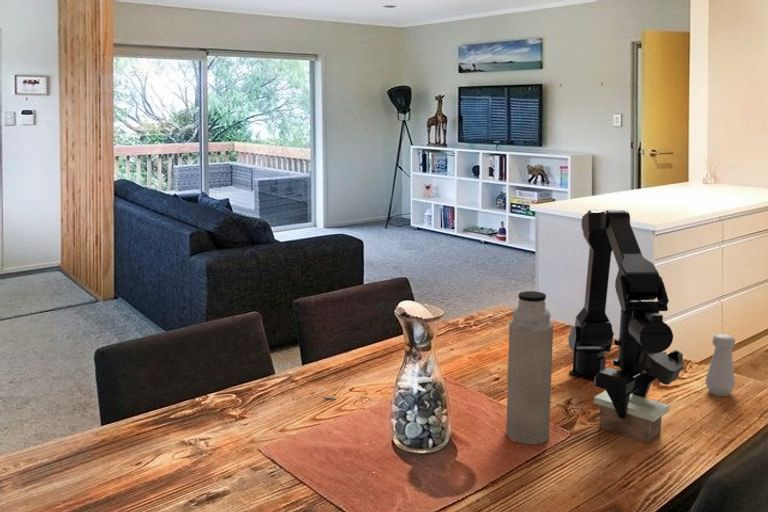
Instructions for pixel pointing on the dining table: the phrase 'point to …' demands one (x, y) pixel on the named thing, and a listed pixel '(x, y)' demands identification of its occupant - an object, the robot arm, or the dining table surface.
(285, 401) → the dining table surface
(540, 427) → the thermos bottle
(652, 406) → the lid
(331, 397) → the fork
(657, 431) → the box
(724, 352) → the salt shaker
